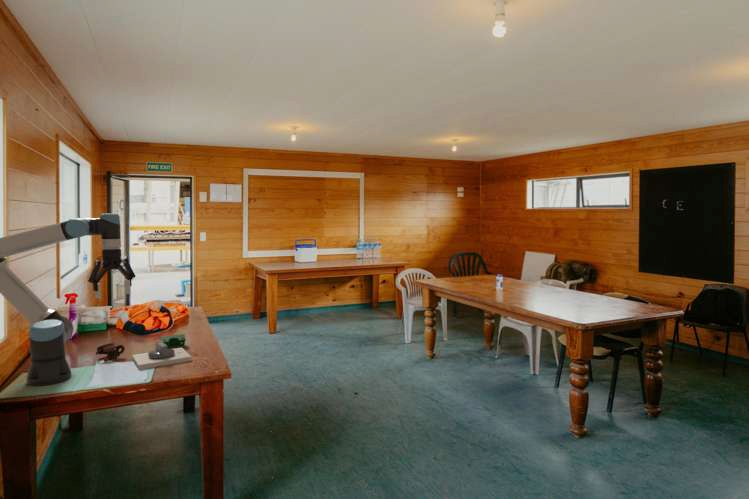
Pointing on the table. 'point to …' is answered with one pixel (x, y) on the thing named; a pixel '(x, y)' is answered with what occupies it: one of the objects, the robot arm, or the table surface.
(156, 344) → the dial
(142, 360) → the dial board
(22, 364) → the table surface
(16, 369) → the table surface
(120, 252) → the robot arm
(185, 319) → the table surface
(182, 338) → the clamp
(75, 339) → the table surface
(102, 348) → the pottery mug
